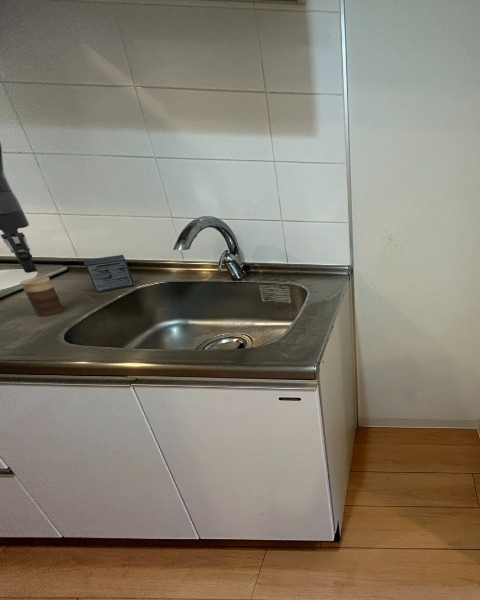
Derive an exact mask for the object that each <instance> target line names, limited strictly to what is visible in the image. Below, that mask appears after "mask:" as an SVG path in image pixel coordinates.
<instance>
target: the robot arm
mask: <svg viewBox="0 0 480 600" xmlns="http://www.w3.org/2000/svg"><path fill="white" fill-rule="evenodd" d="M3 159H4V158H3V145H2V142H1V141H0V231H1V232H2V234H0V237H1V239H2V241H3V243H4V244H5V245H6V247H7V248H8V249H9V251H10V253H12V254H14V256H15V258H16V260H17V262H18V264H19V265H20V266H21V267H22V269H23V271H24V273H27V274H30V273H36V272H37V271H38V269H37V267H36V265H35V262H34V260H33V255H32V254H31V252H30V251H31V248H30V246H29V244H28V240H27V237H26V235H25V234H24V233H23V232H19V229H24V228H27V227H28V226H29V225H30V223H29V221H28V219H27V217H26V214H25V212H24V210H23V208H22V206H21V204H20V201H19V199H18V198H17V196H16V195H15V193H14V191H13V190H12V187H11V185H10V182H9V181H8V179H7V177H6V175H5V170H4V169H5V167H4V162H3Z"/></svg>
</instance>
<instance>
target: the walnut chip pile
mask: <svg viewBox="0 0 480 600" xmlns="http://www.w3.org/2000/svg"><path fill="white" fill-rule="evenodd" d="M24 293H25V295H26V297H27V299H28V300H29V302H30V305H31V306H32V308H33V310H34V313H35V314H36V316H37V317H50V316H54V315H58V314H60V313H62V312H63V311H64V306H63V305H62V302H61V300H60V298H59V295H58V294H57V292H56V289H55V287H54V286H53V287H52V288H50V289H48V290H44V291H40V292H25V291H24Z"/></svg>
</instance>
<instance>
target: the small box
mask: <svg viewBox="0 0 480 600" xmlns="http://www.w3.org/2000/svg"><path fill="white" fill-rule="evenodd" d="M83 263H84V267H85V268H86V271H87V273H88V275H89V278H90V280H91V282H92V285H93V287H94V290H95V293H104V292H108V291H113V290H120V289H124V288H129V287H135V286H136V284H135V282H134V280H133V276H132V274H131V271H130V268H129V266H128V262H127V259H126V257H125V256H124V254H118V255H111V256H103V257H96V258H88V259H83Z"/></svg>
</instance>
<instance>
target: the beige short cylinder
mask: <svg viewBox="0 0 480 600" xmlns="http://www.w3.org/2000/svg"><path fill="white" fill-rule="evenodd" d="M20 285H21V287H22V289H23V291H24V293H25V292H40V291H44V290H48V289H50V288H52V287H54V285H53V283H52V281H51V279H50V277H49V276H35V277H30V278H26V279H23V280H21V281H20Z"/></svg>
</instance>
